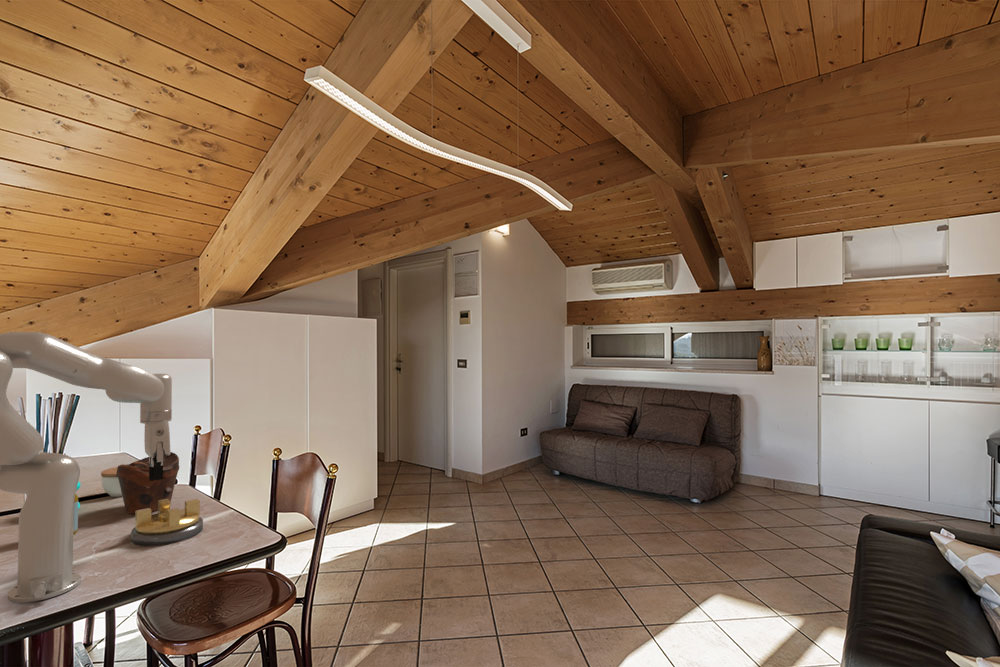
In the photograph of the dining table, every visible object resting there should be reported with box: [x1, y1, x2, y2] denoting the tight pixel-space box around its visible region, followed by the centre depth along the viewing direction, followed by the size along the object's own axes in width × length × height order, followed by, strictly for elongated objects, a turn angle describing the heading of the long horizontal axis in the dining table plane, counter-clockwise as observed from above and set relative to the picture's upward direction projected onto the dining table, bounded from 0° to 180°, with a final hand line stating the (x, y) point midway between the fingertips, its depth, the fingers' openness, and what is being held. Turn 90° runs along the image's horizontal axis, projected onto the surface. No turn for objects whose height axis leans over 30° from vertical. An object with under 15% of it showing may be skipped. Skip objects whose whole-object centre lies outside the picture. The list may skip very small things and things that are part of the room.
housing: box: [130, 516, 204, 547], centre depth 150 cm, size 18×18×6 cm
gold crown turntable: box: [134, 498, 201, 535], centre depth 150 cm, size 16×16×6 cm
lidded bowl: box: [100, 463, 125, 498], centre depth 189 cm, size 13×13×11 cm
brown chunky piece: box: [116, 451, 180, 515], centre depth 173 cm, size 18×20×18 cm
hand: (156, 479), depth 145 cm, fingers closed
